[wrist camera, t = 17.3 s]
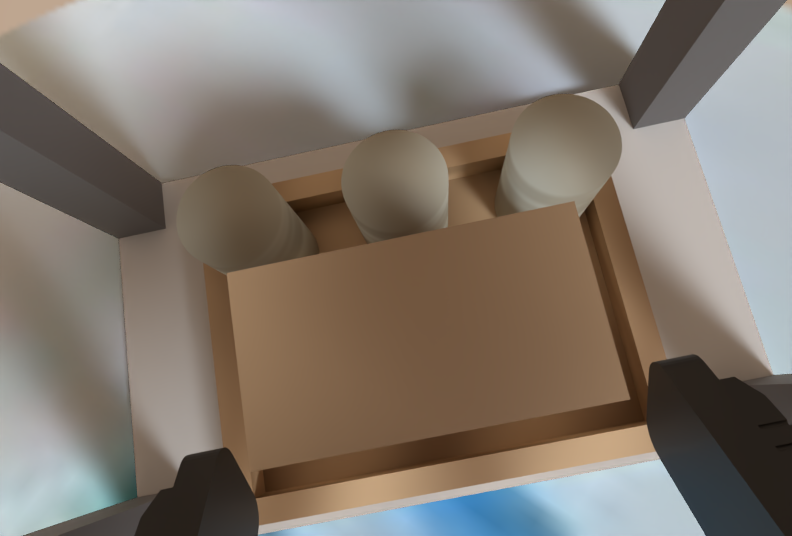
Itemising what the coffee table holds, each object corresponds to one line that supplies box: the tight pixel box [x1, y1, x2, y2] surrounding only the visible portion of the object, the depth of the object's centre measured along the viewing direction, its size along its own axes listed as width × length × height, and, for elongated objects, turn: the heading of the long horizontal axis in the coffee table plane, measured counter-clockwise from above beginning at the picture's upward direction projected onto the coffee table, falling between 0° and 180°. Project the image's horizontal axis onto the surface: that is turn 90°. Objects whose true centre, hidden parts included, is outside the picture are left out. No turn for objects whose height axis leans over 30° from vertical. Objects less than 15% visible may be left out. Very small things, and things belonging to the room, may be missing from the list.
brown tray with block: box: [176, 94, 667, 526], centre depth 14 cm, size 14×11×14 cm
